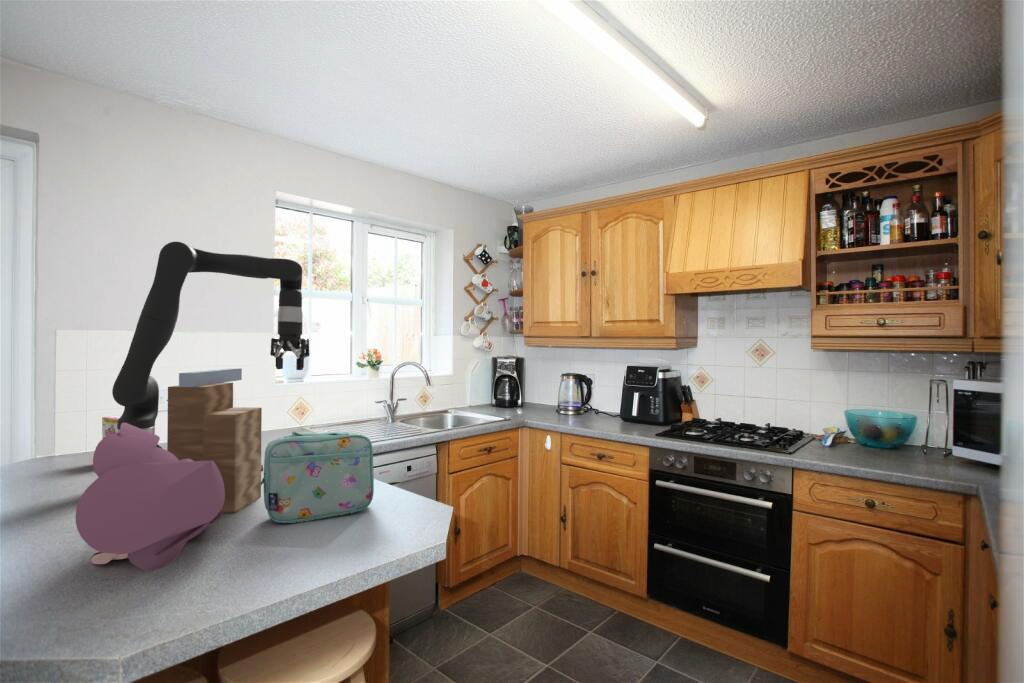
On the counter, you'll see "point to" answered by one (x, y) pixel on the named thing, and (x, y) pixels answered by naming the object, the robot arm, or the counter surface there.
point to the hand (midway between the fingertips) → (289, 369)
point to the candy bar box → (109, 425)
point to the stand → (218, 438)
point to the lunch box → (317, 476)
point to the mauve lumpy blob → (146, 500)
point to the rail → (209, 377)
